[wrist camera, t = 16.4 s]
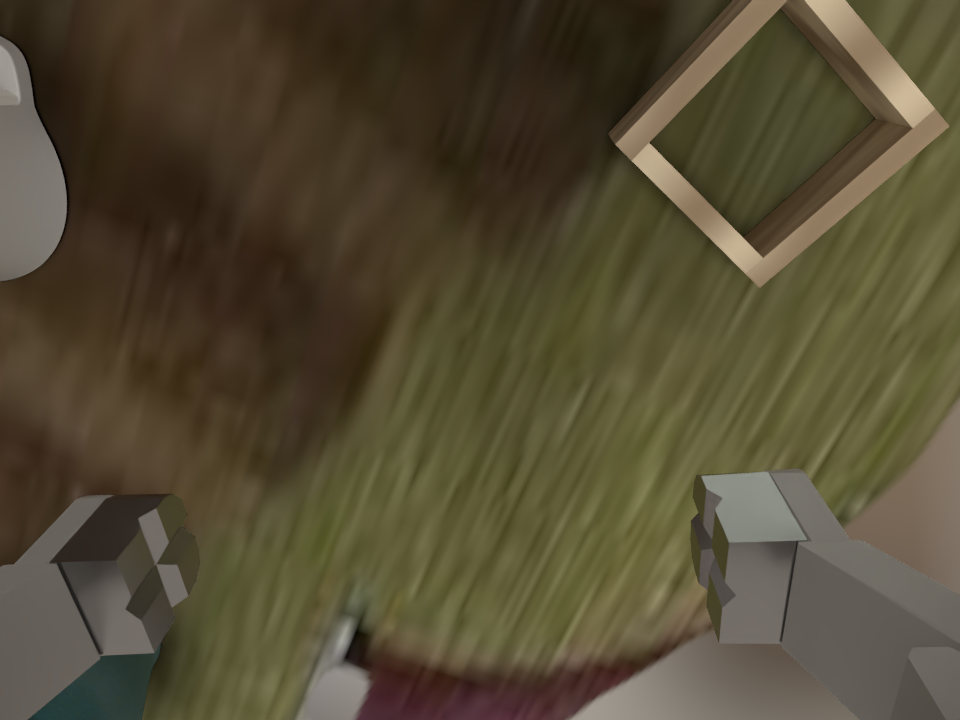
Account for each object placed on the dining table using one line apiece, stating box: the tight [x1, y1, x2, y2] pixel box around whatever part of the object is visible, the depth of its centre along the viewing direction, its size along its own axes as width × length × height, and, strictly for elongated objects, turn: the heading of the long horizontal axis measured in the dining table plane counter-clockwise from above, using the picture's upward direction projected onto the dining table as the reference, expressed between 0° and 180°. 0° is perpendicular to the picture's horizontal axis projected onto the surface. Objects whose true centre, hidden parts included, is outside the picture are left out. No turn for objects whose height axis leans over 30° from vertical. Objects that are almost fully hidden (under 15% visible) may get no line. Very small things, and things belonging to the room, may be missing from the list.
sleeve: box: [608, 0, 949, 288], centre depth 35 cm, size 11×11×4 cm
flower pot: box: [28, 643, 161, 720], centre depth 51 cm, size 18×18×17 cm
